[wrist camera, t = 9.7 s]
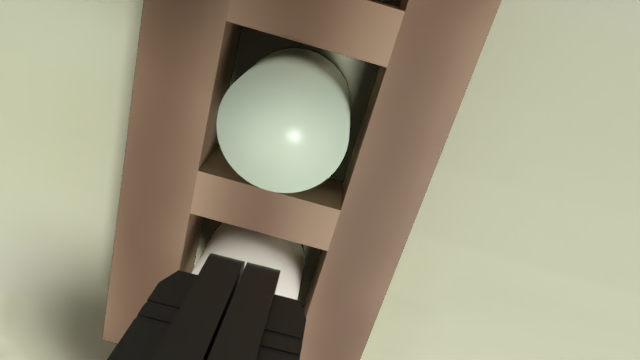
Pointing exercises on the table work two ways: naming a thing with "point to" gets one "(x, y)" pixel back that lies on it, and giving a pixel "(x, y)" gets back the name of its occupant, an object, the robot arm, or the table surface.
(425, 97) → the button board
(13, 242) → the table surface
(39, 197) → the table surface
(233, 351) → the robot arm
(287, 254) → the cream button
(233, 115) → the sage button
